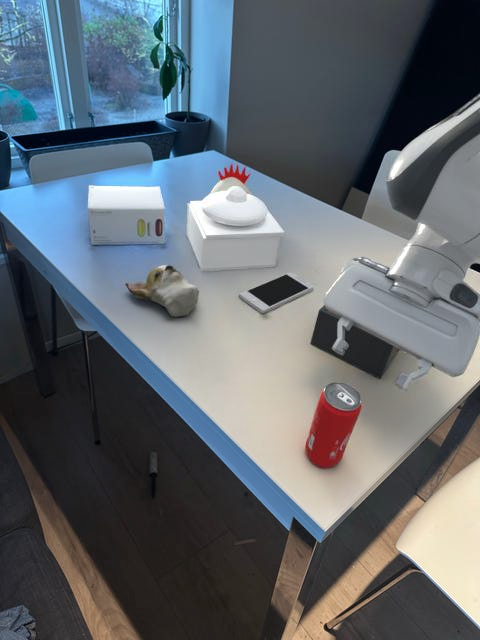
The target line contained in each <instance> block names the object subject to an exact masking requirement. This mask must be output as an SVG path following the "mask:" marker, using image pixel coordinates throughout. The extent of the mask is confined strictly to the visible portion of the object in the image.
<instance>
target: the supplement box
mask: <svg viewBox="0 0 480 640" xmlns="http://www.w3.org/2000/svg"><path fill="white" fill-rule="evenodd" d="M87 200H88V201H87V215H88V216H87V217H88V226H89V236H90V245H91V246H104V245H105V246H110V245H111V246H112V245H113V246H115V245H117V246H118V245H119V246H120V245H121V246H122V245H165V244H166V207H165V202H164V199H163V196H162V189H161V187H160V186H143V185H142V186H141V185H139V186H136V185H135V186H134V185H133V186H132V185H90V184H89V185H88V197H87Z"/></svg>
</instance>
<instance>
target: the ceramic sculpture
mask: <svg viewBox="0 0 480 640" xmlns="http://www.w3.org/2000/svg"><path fill="white" fill-rule="evenodd" d="M124 285H125V287H126V288H127V290H128V291H129V293H130V294H131V295H133V296H134V297H136V298H137V299H142V300H148V301H153V302H155V303H157V304H158V305H160V306H163V307H165V308H166V310H167V313H169V315H170V316H172V317H174V318H178V317H184V316H187V315H188V314H190V312H192V311H193V310H194V309H195V307H196V306H197V304H198V301H199V295H200V290H199V289H198V287H197V286H196V285H195V284H191V283H189V281H188V280H187V279H186V277H185V276H184V274H182V273H181V271H180V270H179V269H177V268H175V267H174V266H173V265H169V264H168V265H167V264H164V265H160V266H156V267H154V268H153V269H152V270H150V271H149V272H148V274H147V277H146V281H145V282H135V283H127V282H124Z"/></svg>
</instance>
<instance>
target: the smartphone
mask: <svg viewBox="0 0 480 640" xmlns="http://www.w3.org/2000/svg"><path fill="white" fill-rule="evenodd" d="M314 287H315V286H314V285H312V284H311V283H309V282H308V281H306V280H305V279H303V278H301V277H300V276H298V275H296V274H295V273H293V272H291V271H289V272H287V273H284V274H282V275H279V276H277V277H275V278H272V279H270V280H268V281H265V282H262V283H260V284H258V285H256V286H253V287H251V288H248V289H247V290H244V291H242V292H240V293H239V298H240V299H241V300H242V301H244V302H245V303H247V304H248V305H250V307H252V308H254V309H255V310H256V311H258V312H259V313H261V314H266V313H268V312H270V311H272V310H274V309H277V308H278V307H280V306H283V305H285V304H287V303H289V302H291V301H293V300H295V299H297V298H300V297H302V296H304V295H306V294H308V293H310V292H312V291H313V290H314Z"/></svg>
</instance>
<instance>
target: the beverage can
mask: <svg viewBox="0 0 480 640" xmlns="http://www.w3.org/2000/svg"><path fill="white" fill-rule="evenodd" d="M362 407H363V403H362V395H361V393H360V392H359V390H357V388H356V387H354V386H353V385H351V384H349V383H346V382H342V381H334V382H330V383H328V384H327V385H325V387H324V388H323V389H322V391H321V392H320V395H319V398H318V402H317V405H316V408H315V411H314V415H313V418H312V422H311V424H310V428H309V431H308V435H307V438H306V442H305V452H306V456H307V458H308V460H309V461H310V462H311V463H312V464H313V465H314V466H316V467H319V468H322V469H329V468H333V467H335V466H336V465H337V464H338V463H340V462H341V461H342V459H343V456H344V454H345V451H346V449H347V446H348V443H349V441H350V437H351V436H352V434H353V431H354V428H355V426H356V423H357V421H358V418H359V415H360V413H361V410H362Z"/></svg>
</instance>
